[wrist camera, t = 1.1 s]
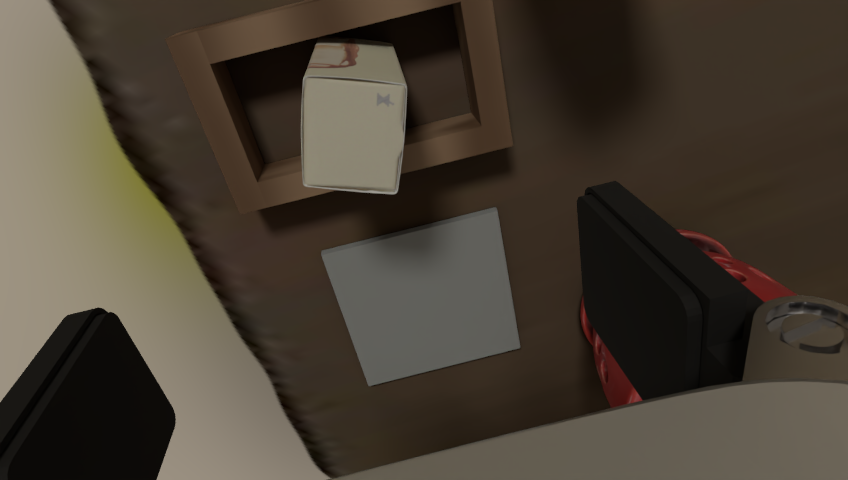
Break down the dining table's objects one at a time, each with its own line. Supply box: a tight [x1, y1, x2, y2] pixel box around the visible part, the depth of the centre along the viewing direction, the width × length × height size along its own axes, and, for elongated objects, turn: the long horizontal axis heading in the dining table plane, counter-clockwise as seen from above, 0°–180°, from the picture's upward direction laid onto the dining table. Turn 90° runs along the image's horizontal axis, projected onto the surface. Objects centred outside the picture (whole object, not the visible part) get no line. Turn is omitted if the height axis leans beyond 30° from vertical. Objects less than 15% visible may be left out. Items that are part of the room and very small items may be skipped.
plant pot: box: [580, 229, 797, 408], centre depth 36 cm, size 13×13×12 cm
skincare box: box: [301, 36, 407, 195], centre depth 27 cm, size 5×4×10 cm
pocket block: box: [165, 0, 513, 214], centre depth 30 cm, size 16×10×3 cm, turn 102°
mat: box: [321, 207, 520, 386], centre depth 39 cm, size 12×12×1 cm
